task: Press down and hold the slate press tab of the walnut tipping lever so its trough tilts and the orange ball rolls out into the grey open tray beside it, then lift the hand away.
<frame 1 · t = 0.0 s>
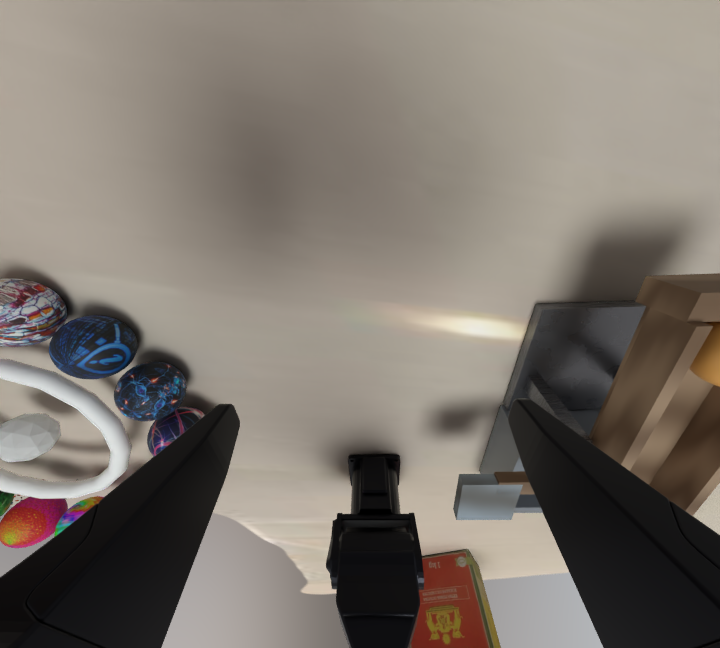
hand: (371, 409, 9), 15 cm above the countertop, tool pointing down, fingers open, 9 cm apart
lever stand: (574, 373, 27), on the countertop
grey open tray: (542, 440, 33), on the countertop
decorated egg ring holder: (72, 401, 31), on the countertop
tipping lever: (591, 437, 20), point 8 cm above the countertop, hinge at 6.0°, touching ball
food packaging: (439, 561, 53), on the countertop
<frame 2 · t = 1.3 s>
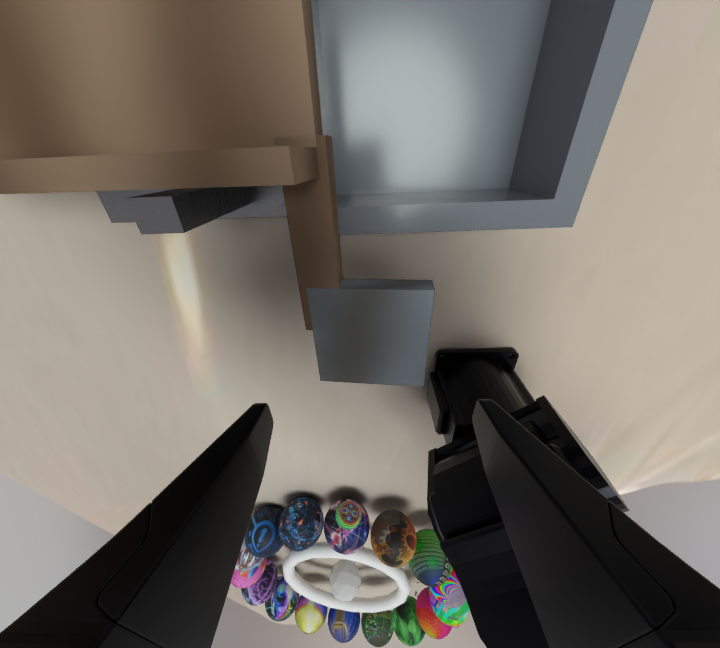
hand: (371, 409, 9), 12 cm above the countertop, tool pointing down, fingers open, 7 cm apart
lever stand: (218, 90, 14), on the countertop
grey open tray: (426, 79, 14), on the countertop
decorated egg ring holder: (347, 540, 43), on the countertop
tipping lever: (111, 213, 9), point 8 cm above the countertop, hinge at 6.0°, touching ball
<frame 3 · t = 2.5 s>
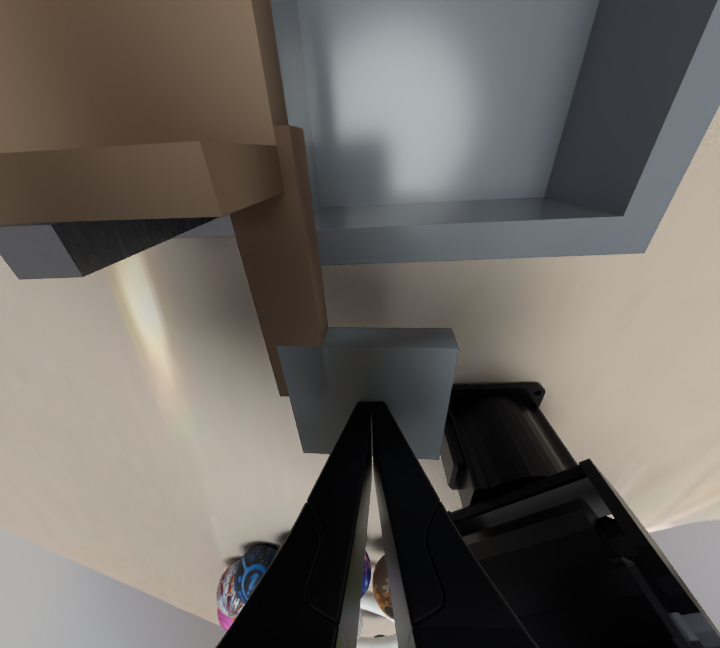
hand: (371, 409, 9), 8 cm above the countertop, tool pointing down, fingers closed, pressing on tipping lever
lever stand: (166, 72, 11), on the countertop
grey open tray: (439, 54, 10), on the countertop
decorated egg ring holder: (347, 575, 40), on the countertop
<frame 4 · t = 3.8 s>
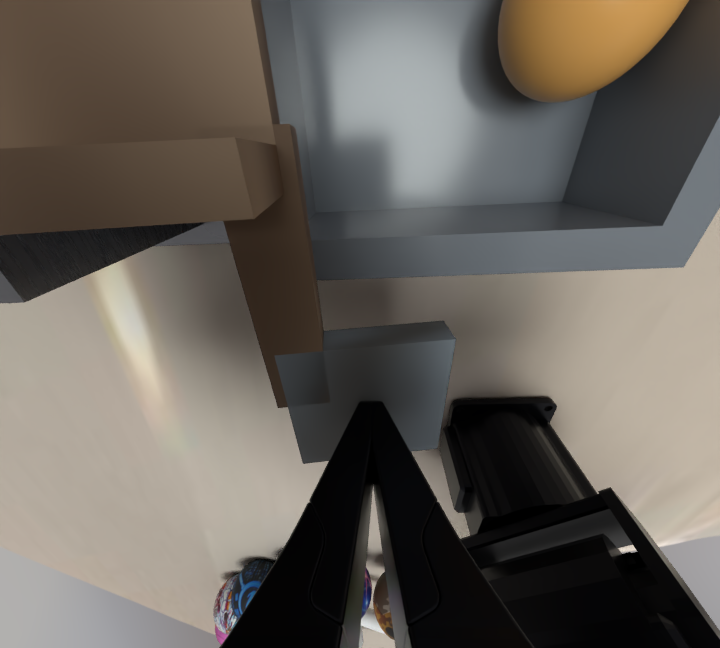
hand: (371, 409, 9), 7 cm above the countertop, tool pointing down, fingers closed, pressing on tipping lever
lever stand: (142, 63, 10), on the countertop
grey open tray: (448, 42, 9), on the countertop
decorated egg ring holder: (347, 588, 39), on the countertop
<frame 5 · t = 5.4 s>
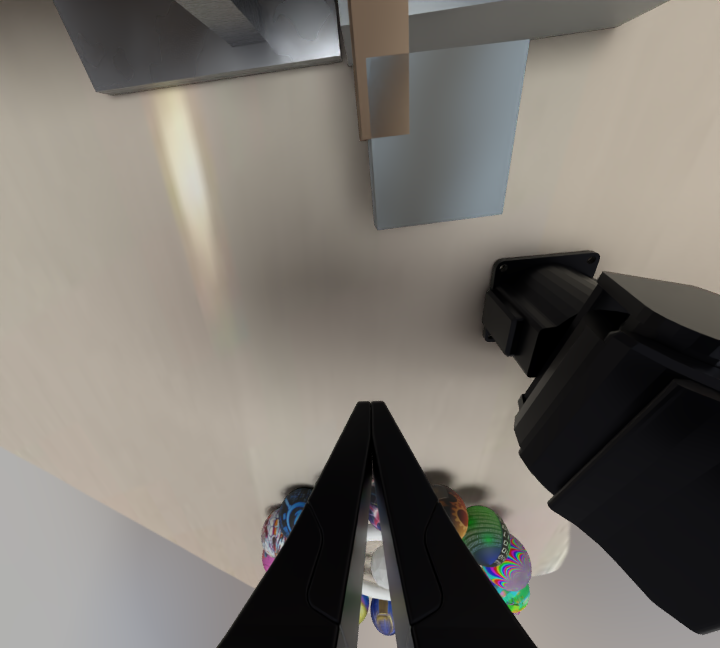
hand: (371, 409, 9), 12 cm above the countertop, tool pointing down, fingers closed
decorated egg ring holder: (385, 524, 40), on the countertop
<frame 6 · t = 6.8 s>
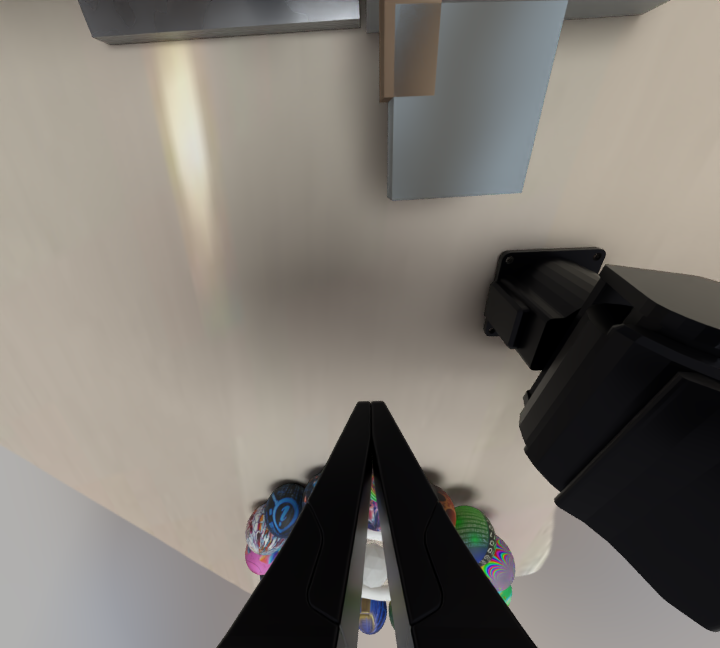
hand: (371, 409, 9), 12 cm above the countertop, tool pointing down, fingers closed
decorated egg ring holder: (372, 523, 40), on the countertop
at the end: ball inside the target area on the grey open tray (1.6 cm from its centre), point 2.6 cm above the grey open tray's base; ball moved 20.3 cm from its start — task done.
